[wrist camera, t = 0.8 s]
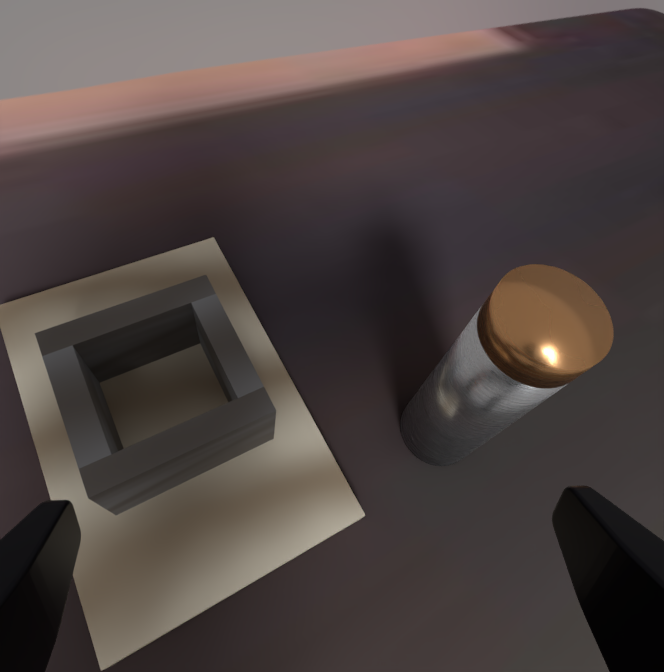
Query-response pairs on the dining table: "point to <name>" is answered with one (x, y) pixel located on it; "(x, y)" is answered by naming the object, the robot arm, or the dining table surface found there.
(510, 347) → the pin
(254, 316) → the block
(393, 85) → the dining table surface
